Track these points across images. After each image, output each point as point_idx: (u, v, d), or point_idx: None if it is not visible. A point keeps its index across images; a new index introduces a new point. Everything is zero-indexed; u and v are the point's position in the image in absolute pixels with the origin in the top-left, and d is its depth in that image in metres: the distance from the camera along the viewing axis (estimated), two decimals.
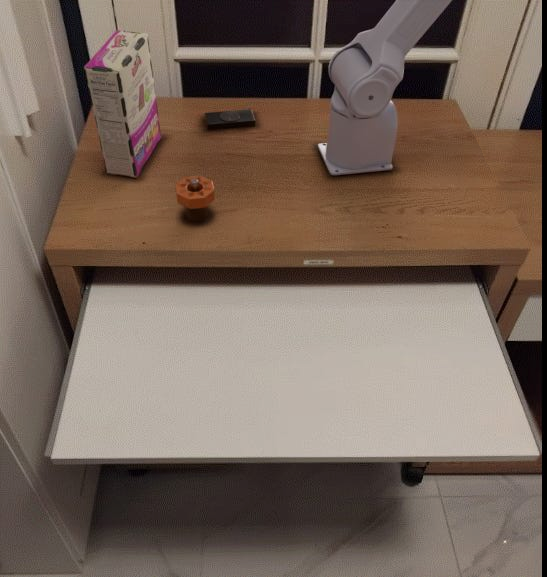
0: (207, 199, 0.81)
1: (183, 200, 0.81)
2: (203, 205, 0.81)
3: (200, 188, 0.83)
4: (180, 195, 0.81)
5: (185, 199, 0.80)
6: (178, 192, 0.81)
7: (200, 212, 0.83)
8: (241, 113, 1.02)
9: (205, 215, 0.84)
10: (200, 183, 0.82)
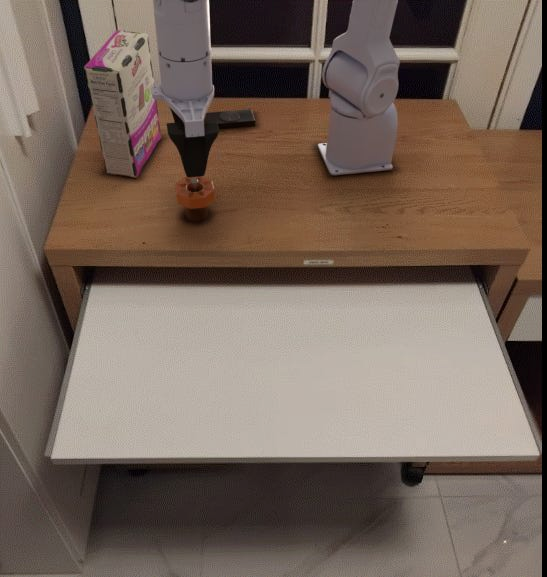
0: (207, 199, 0.81)
1: (183, 200, 0.81)
2: (203, 205, 0.81)
3: (200, 188, 0.83)
4: (180, 195, 0.81)
5: (185, 199, 0.80)
6: (178, 192, 0.81)
7: (200, 212, 0.83)
8: (241, 113, 1.02)
9: (205, 215, 0.84)
10: (200, 183, 0.82)
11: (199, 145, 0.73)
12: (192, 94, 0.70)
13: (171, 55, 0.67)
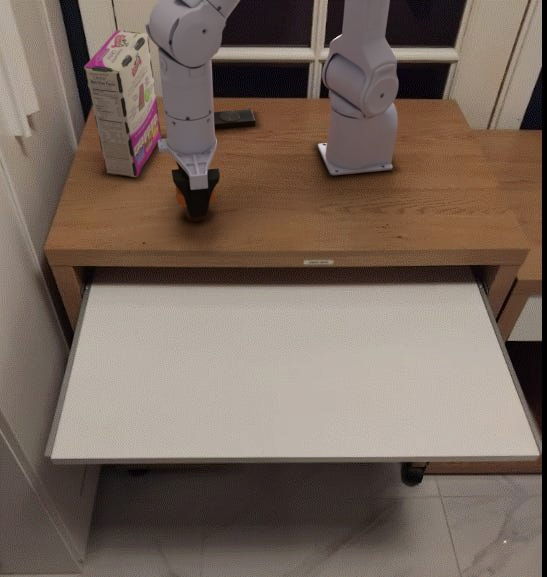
0: None
1: (183, 200, 0.81)
2: None
3: None
4: (180, 195, 0.81)
5: None
6: (178, 192, 0.81)
7: None
8: (241, 113, 1.02)
9: None
10: None
11: (202, 189, 0.78)
12: (196, 148, 0.75)
13: (176, 114, 0.71)
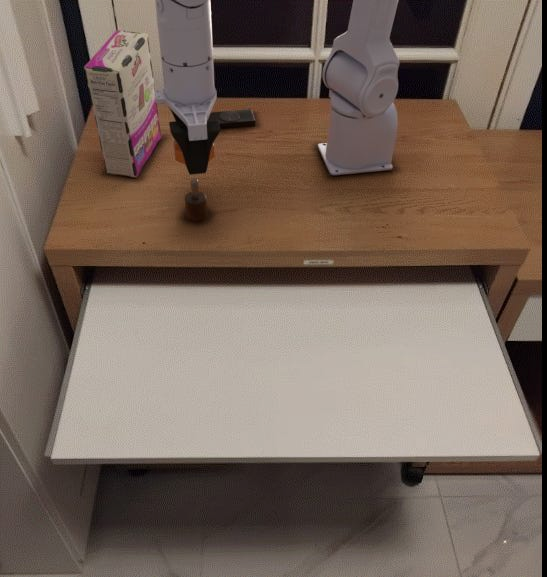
0: None
1: (181, 157, 0.77)
2: None
3: None
4: (178, 151, 0.77)
5: None
6: (176, 148, 0.77)
7: (200, 212, 0.83)
8: (241, 113, 1.02)
9: (205, 215, 0.84)
10: None
11: (201, 143, 0.75)
12: (195, 98, 0.71)
13: (173, 60, 0.68)
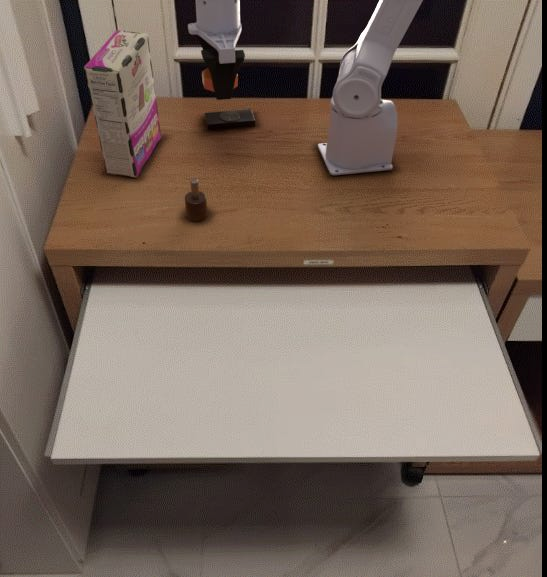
0: None
1: (209, 84, 0.88)
2: None
3: None
4: (207, 79, 0.88)
5: (211, 83, 0.88)
6: (205, 77, 0.89)
7: (200, 212, 0.83)
8: (241, 113, 1.02)
9: (205, 215, 0.84)
10: None
11: (228, 70, 0.86)
12: (224, 28, 0.82)
13: None
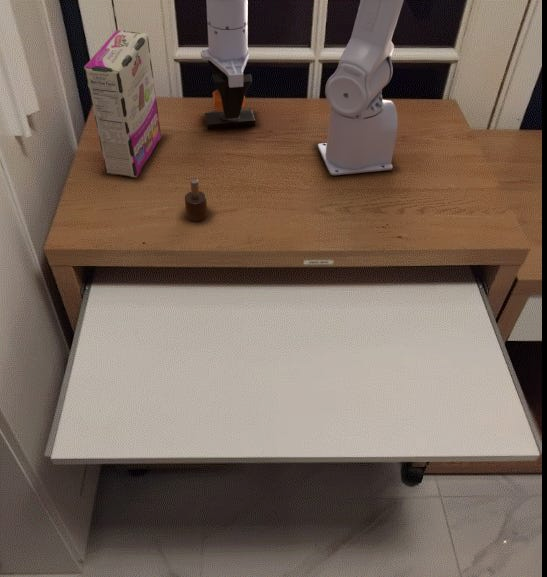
0: None
1: (219, 104, 0.97)
2: None
3: None
4: (217, 100, 0.97)
5: (221, 103, 0.97)
6: (215, 97, 0.97)
7: (200, 212, 0.83)
8: (241, 113, 1.02)
9: (205, 215, 0.84)
10: None
11: (236, 92, 0.95)
12: (233, 55, 0.91)
13: (207, 17, 0.90)
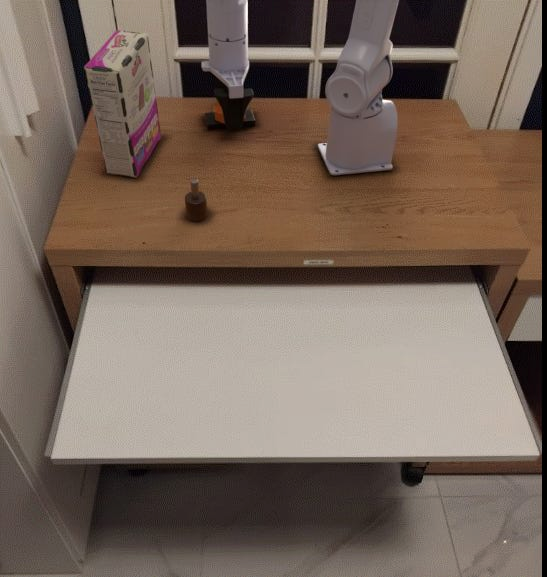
0: None
1: (220, 117, 0.99)
2: None
3: None
4: (217, 112, 0.99)
5: (222, 115, 0.99)
6: (216, 110, 0.99)
7: (200, 212, 0.83)
8: None
9: (205, 215, 0.84)
10: None
11: (238, 106, 0.95)
12: (233, 66, 0.92)
13: (208, 29, 0.91)
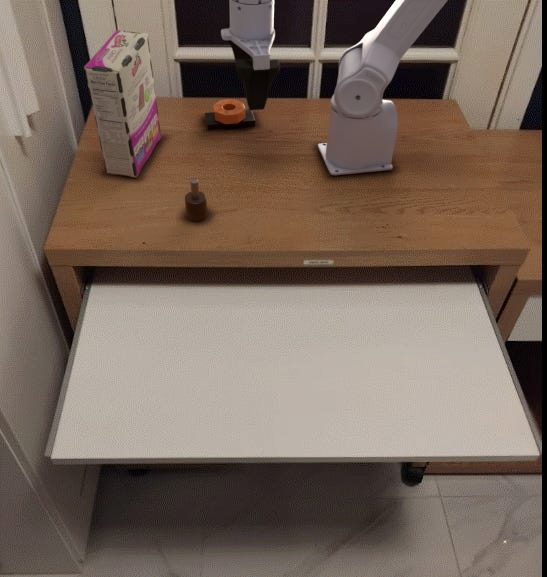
0: (239, 116, 0.99)
1: (220, 117, 0.99)
2: (236, 121, 0.99)
3: (233, 108, 1.01)
4: (217, 112, 0.99)
5: (222, 115, 0.99)
6: (216, 110, 0.99)
7: (200, 212, 0.83)
8: None
9: (205, 215, 0.84)
10: (233, 104, 1.01)
11: (262, 80, 0.84)
12: (258, 34, 0.81)
13: None
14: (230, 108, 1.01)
